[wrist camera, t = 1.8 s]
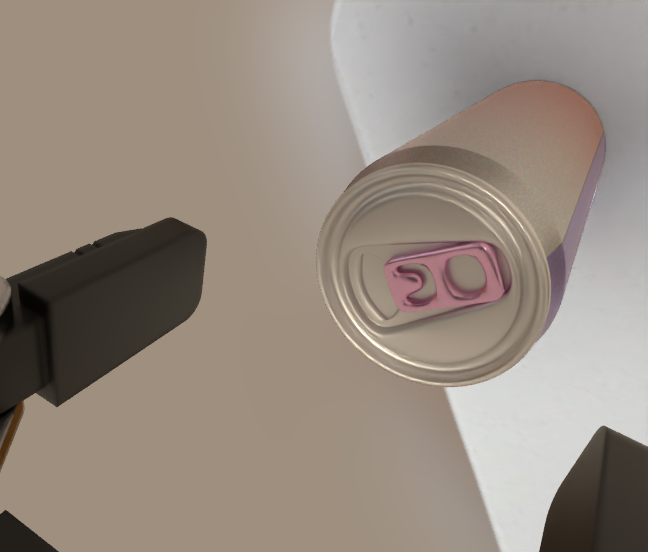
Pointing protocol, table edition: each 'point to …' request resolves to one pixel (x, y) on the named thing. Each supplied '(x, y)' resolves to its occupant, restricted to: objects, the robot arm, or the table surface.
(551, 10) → the table surface
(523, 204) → the beverage can
